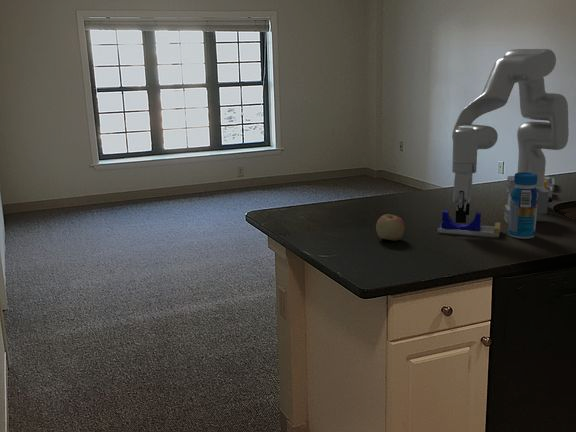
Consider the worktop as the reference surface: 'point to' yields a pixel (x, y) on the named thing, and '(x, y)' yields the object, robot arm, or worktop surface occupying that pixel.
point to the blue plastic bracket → (453, 225)
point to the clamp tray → (548, 188)
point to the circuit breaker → (541, 199)
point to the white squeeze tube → (484, 231)
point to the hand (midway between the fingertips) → (462, 218)
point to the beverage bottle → (523, 206)
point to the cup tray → (551, 183)
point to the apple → (390, 227)
